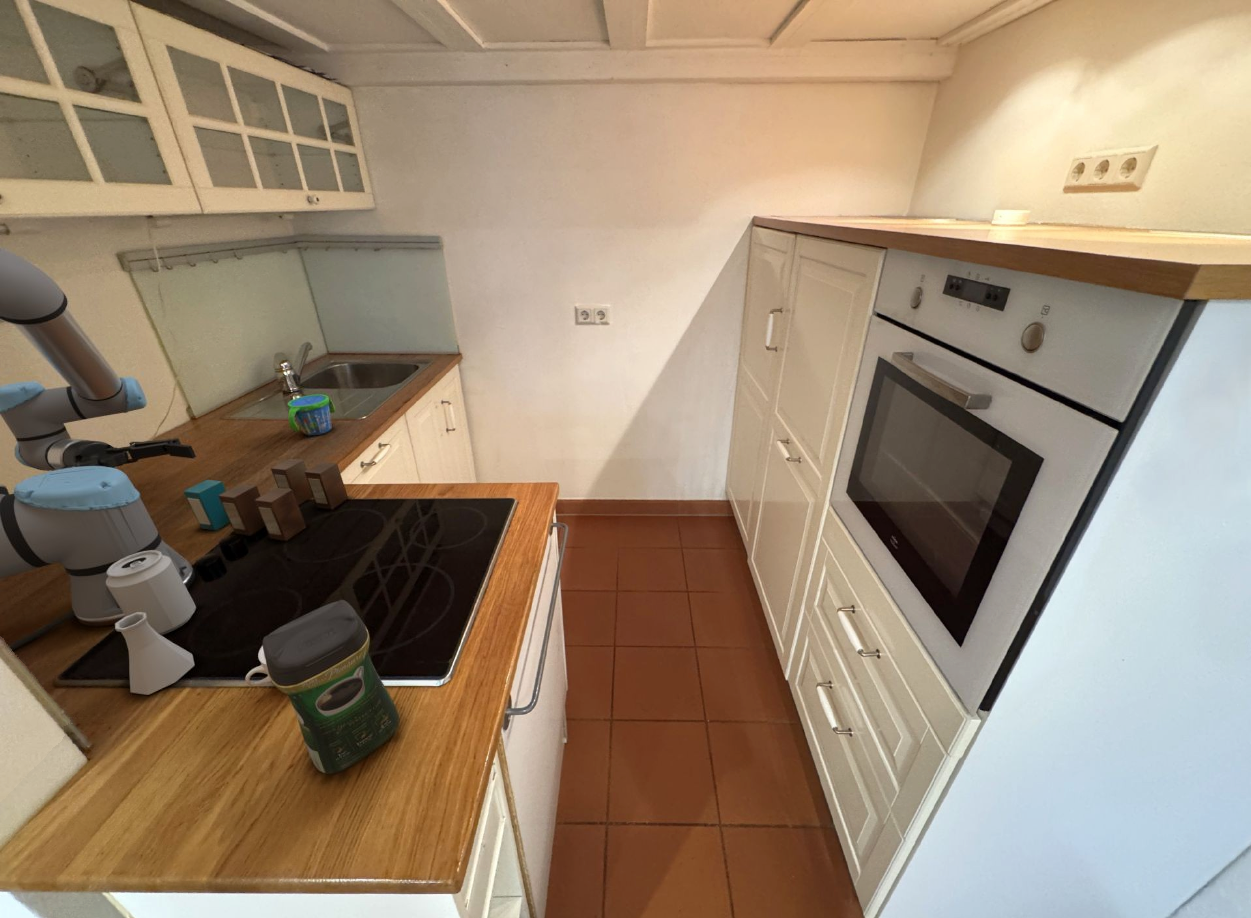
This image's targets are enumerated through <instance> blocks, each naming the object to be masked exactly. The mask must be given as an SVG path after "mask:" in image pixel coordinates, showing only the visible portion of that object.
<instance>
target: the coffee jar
mask: <svg viewBox="0 0 1251 918" xmlns="http://www.w3.org/2000/svg"><path fill="white" fill-rule="evenodd" d="M370 641H371V638H370V633H369V631H368V629H367V626H366V625H365V624H364V621H363V620H362V619H361V617H360V616H359V615H358V613H357V612H356V610H355V609H354V607H353V606H352V605H351V604H350V603H349V602H347V601H346V600H345V599H340V600H338V601H334V602H331V603H328V604H325V605H323V606H321V607H318V608H316V609H314V610H312V611H310V612H308V613H306V614H304V615H302V616H300V617H298V618H296V619H294V620H292V621H290V622H287V623H285V624H284V625H282V626H280V627H278V628H276V629H275V630H273V631H272V632H270V633H269V634H268V635H266V636H264V637H263V639H262V646H263V650H264V655H265V659H266V664H267V669H268V674H267V676H268V675H269V677H270V679H271V681H272V682H271V683H272V684H273V685H274V687H275V688H277V689H278V690H279V691H280V692H281V693H283V694H285V695H286V696H287V698H288V699H289V702H290V704H291V706H292V708H293V710H294V712H295V716H296V718H297V721H298V725H299V728H300V732H301V734H302V738H303V741H304V744H305V747H306V750H307V752H308V755H309V757H310V759H311V762H312V763H313V765H314V766H315V768H317V770H318V771H319V772H321V773H323V774H328V775H331V774H332V775H333V774H337V773H341V772H343V771H345V770H347V769H349V768H350V767H352V766H354V765H356V764H357V763H359V762H361V761H362V760H364V759H365V758H366V757H368V756H369V755H371V754H372V753H373V752H375V751H376V750H378V749H379V748H381V746H383V745H385V743H387V742H388V741H389V740H390V739H391V738H392V737H393V736H394V735H395V733H396V731H397V729H398V727H399V723H400V715H399V712H398V710H397V707H396V704H395V703H394V700H393V698H392V696H391V695H390V693H389V691H388V689H387V687H386V686H385V684H384V682H383V680H382V679H381V677H380V675H379V674H378V672H377V670H376V668H375V666H374V664H373V661H372V658H371V655H370V654H369V651H370V643H371V642H370Z"/></svg>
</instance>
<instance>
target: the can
mask: <svg viewBox="0 0 1251 918" xmlns="http://www.w3.org/2000/svg"><path fill="white" fill-rule="evenodd" d="M107 575H108V578H107V580H106V585H107V587H108V588H109V590H110V592H111V593H112V595H113V596H114V598H115V600H116V601H117V603H118V605H119V606H120V608H121V609H122V611H123V613H124V614H125V616H129V615H131V614H134V613H136V612H142V613H146V616H147V622H148V624H149V625H150V626H151V627H152V628H153V629H154V630H155V631H156V632H157V633H158V634H159V635H161V636H163V635H166V634H168V633H171V632H174V631H175V630H177V629H179V628H180V627H182V626H184V625H185V624H186V623H187V622H189V620H190V619H191V618H192V616H193V614H194V613H195V611H196V609H197V606H196V604H195V601H194V599H193V598H192V596H191V594H190V592H189V590H188V589H186V587H185V585H184V583H183V581H182V579H181V577H180V575H179V574H178V572H177V570H176V568H175V566H174V564H173V562H172V560H171V559H170V557H167V556H164V555H162V553H161V552H159V551H154V550H150V551H143V552H139V553H135V554H132V555H129V556H127V557H125V558H123V559H121V560H119V561H117V562H116V563H114V564H113V565H112V566H110V567H109V569H108V570H107Z"/></svg>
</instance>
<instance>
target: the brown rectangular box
mask: <svg viewBox="0 0 1251 918" xmlns="http://www.w3.org/2000/svg"><path fill="white" fill-rule="evenodd" d="M307 470H308V468H307V465H306V461H305V460H304V459H301V458H288V459H286V460H284V461H281V462H280V463H278V464H276V465H274V466H273V467H270V471H271V474H272V476H273V478H274V481H275V484H276V486H277V488H283V489H291V490H293V493H294V496H295V498H296V501H297V504H298V506H300V505H301V504H303V503H304V502H306V501H308V500H310V499H311V498H313V495H312V492H311V489H310V487H309V484H308V481H307V478H306V475H305V471H307Z"/></svg>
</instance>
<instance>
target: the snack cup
mask: <svg viewBox="0 0 1251 918" xmlns="http://www.w3.org/2000/svg"><path fill="white" fill-rule="evenodd" d="M287 408H288V409H289V410H288V417H287V418H288V426H289V428H290V430H292V431H294V432H298V431H300V430H301V431H302V433H303V434H304V435H306V436H307V437H311V436H320V435H325V434H327V433H328V432H330V431H331V430H332V428H333V427H332V419H331V418H332V417H331V414H335V412H336V407H335V404H334V403H333V401H332V399H331V398H330V396H328V395H326V394H309V395H303V396H299V397H296V398H294V399H292V400H289V401H288V402H287ZM295 420H296V421H295ZM296 422H297V423H296ZM297 424H298V425H297ZM299 427H300V428H299Z"/></svg>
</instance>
